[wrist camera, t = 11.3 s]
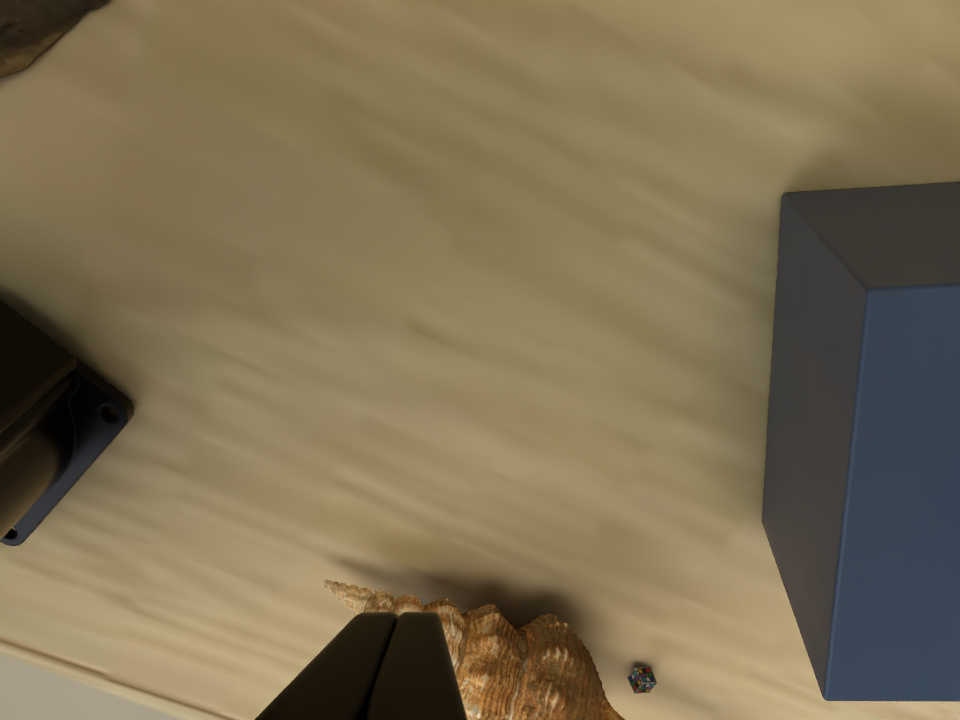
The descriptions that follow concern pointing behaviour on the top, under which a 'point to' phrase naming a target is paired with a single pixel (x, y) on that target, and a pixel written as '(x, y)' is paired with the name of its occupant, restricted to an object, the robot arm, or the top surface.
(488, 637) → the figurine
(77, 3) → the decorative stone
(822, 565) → the push button box
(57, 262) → the top surface
